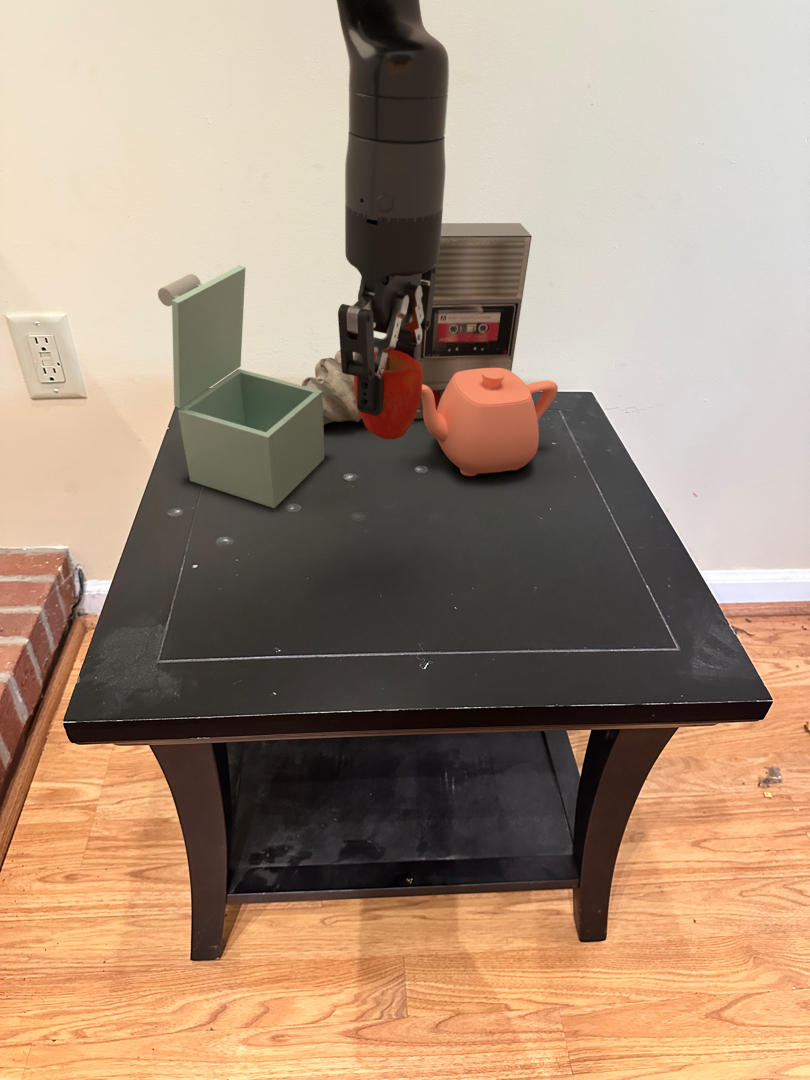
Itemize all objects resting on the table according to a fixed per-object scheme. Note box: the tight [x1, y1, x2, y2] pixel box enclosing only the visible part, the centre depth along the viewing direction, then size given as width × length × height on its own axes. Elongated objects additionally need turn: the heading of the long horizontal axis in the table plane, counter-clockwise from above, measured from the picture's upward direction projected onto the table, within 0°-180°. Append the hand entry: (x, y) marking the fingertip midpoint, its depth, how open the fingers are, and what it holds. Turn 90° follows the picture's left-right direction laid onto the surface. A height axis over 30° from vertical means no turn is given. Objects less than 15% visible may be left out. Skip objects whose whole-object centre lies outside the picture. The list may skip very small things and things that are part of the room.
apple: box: [354, 350, 423, 440], centre depth 66 cm, size 6×6×8 cm
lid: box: [157, 265, 246, 409], centre depth 83 cm, size 13×12×5 cm
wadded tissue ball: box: [301, 347, 378, 426], centre depth 100 cm, size 10×15×10 cm
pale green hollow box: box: [177, 368, 325, 509], centre depth 89 cm, size 12×12×10 cm
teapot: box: [421, 368, 559, 477], centre depth 93 cm, size 13×20×12 cm, turn 106°
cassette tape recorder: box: [414, 222, 533, 420], centre depth 98 cm, size 14×6×25 cm, turn 99°
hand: (387, 395), depth 66 cm, fingers closed on apple, 6 cm apart
